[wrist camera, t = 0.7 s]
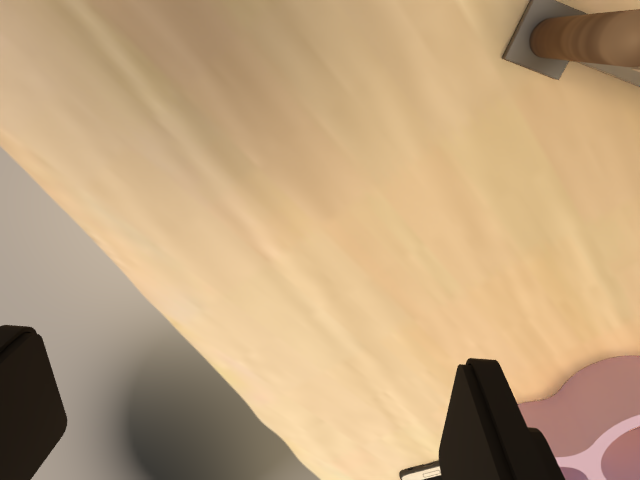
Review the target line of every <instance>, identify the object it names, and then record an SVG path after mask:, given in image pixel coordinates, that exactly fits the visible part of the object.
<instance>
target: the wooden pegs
mask: <svg viewBox="0 0 640 480" xmlns="http://www.w3.org/2000/svg"><path fill="white" fill-rule="evenodd" d="M502 59H505V60H508V61H510V62H513V63H515V64H518V65H520V66H523V67H525V68H528V69H530V70H533V71H535V72H538V73H541V74H543V75H546V76H548V77H551V78H553V79H557V80H559V78H560V77H561V75H562V73H563V71H564V70H565V68H566V66H567V64H568V62H569V61H576V62H585V63H594V64H603V65H613V66H622V67H639V66H640V9H638V10H628V11H617V12H607V13H596V14H586V13H584V12H582V11H579V10H577V9H574V8H572V7H569V6H567V5H565V4H562V3H560V2H557V1H555V0H530V3H529V5H528V7H527V9H526V11H525V13H524V15H523V17H522V19H521V21H520V23H519V25H518V27H517V29H516V31H515V33H514V35H513V37H512V39H511V41H510V43H509V45H508V47H507V49H506V51H505V53H504V55H503V57H502Z"/></svg>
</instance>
